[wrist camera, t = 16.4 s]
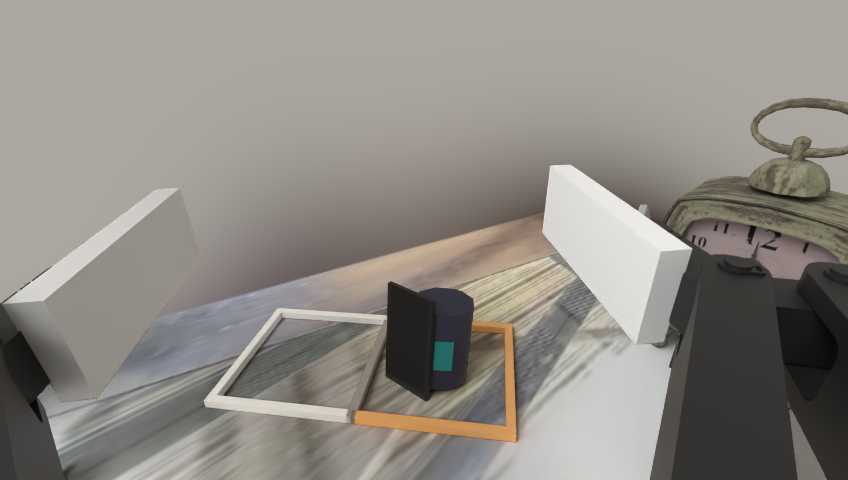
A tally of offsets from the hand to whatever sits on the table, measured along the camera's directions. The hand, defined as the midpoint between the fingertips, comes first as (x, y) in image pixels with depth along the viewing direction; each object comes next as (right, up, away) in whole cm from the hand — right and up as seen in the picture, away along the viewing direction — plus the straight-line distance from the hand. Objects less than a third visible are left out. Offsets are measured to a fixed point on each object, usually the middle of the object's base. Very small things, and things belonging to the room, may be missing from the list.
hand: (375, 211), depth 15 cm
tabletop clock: (+32, -13, +26) cm, 44 cm away
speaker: (+3, -14, +27) cm, 30 cm away
